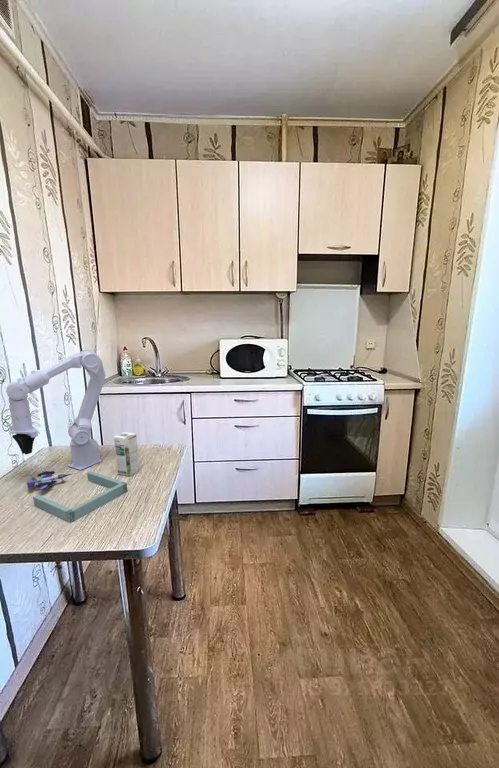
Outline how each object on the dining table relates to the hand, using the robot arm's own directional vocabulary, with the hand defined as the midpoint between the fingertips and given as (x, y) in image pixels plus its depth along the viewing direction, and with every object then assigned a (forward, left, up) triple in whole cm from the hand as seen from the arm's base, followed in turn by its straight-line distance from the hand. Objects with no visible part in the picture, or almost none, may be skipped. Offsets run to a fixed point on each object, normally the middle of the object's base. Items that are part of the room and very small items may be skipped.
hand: (27, 453), depth 128 cm
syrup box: (-20, +28, -10) cm, 36 cm away
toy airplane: (0, +12, -10) cm, 15 cm away
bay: (0, +29, -9) cm, 30 cm away
